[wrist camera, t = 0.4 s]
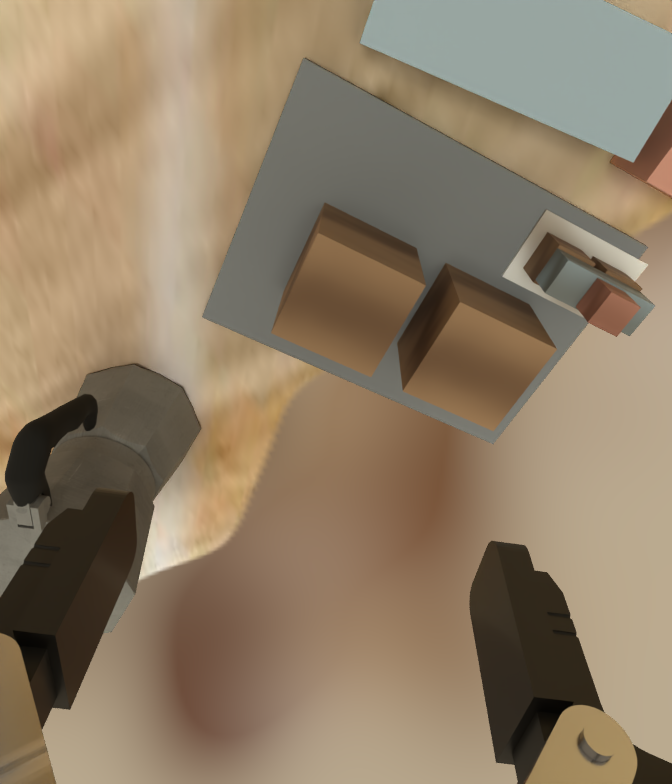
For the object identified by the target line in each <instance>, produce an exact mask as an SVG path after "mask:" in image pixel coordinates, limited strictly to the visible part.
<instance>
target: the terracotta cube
mask: <svg viewBox="0 0 672 784" xmlns="http://www.w3.org/2000/svg"><path fill="white" fill-rule="evenodd" d="M610 163H611V164H613V165H615V166H617V167H618V168H620V169H622V170H624V171H625V172H627V173H629V174H631V175H632V176H634V177H636V178H638V179H639V180H641V181H643V182H645V183H646V184H648V185H650V186H651V187H653V188H655V189H657V190H658V191H660V192H662V193H664V194H665V195H667V196H669V197H671V198H672V100H671V102H670V104H669V105H668V107H667V108H666V110H665V112H664V113H663V115H662V117H661V118H660V120H659V122H658V123H657V125H656V126H655V128H654V130H653V131H652V133H651V135H650V136H649V138H648V140H647V141H646V143H645V144H644V146H643V148H642V149H641V151H640V153H639V154H638V156H637V158H636V159H635V161H634V162H631V161H628V160H626V159H624V158H621V157H619V156H617V155H614V156H613V158H612V159H611V161H610Z"/></svg>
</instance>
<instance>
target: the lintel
mask: <svg viewBox="0 0 672 784" xmlns="http://www.w3.org/2000/svg"><path fill="white" fill-rule="evenodd" d="M360 44H363V45H365V46H367V47H370V48H372V49H374V50H376V51H379V52H381V53H383V54H386V55H388V56H390V57H392V58H395V59H397V60H399V61H402V62H404V63H406V64H408V65H411V66H413V67H415V68H418V69H420V70H422V71H425V72H427V73H429V74H431V75H434V76H436V77H438V78H441V79H443V80H445V81H447V82H450V83H452V84H454V85H457V86H459V87H461V88H463V89H466V90H468V91H470V92H473V93H475V94H477V95H479V96H482V97H484V98H486V99H489V100H491V101H493V102H496V103H498V104H500V105H502V106H505V107H507V108H509V109H512V110H514V111H516V112H518V113H521V114H523V115H525V116H528V117H530V118H532V119H534V120H537V121H539V122H541V123H544V124H546V125H548V126H550V127H553V128H555V129H557V130H560V131H562V132H564V133H567V134H569V135H571V136H573V137H576V138H578V139H580V140H583V141H585V142H587V143H589V144H592V145H594V146H596V147H599V148H601V149H603V150H605V151H608V152H610V153H612V154H615V155H617V156H619V157H621V158H624V159H626V160H628V161H631V162H634V161H635V159H636V158H637V156H638V154H639V153H640V151H641V149H642V148H643V146H644V144H645V143H646V141H647V140H648V138H649V136H650V135H651V133H652V131H653V130H654V128H655V126H656V125H657V123H658V122H659V120H660V118H661V117H662V115H663V113H664V112H665V110H666V108H667V107H668V105H669V104H670V102H671V100H672V33H670V32H668V31H666V30H664V29H662V28H660V27H658V26H655V25H653V24H651V23H649V22H647V21H645V20H643V19H641V18H639V17H637V16H635V15H633V14H631V13H628V12H626V11H624V10H622V9H620V8H618V7H616V6H614V5H612V4H610V3H608V2H606V1H604V0H374V2H373V5H372V8H371V11H370V14H369V17H368V19H367V22H366V25H365V28H364V31H363V34H362V37H361V40H360Z"/></svg>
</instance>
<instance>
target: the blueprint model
mask: <svg viewBox="0 0 672 784" xmlns="http://www.w3.org/2000/svg"><path fill="white" fill-rule="evenodd" d="M647 266H648V264H646V263H645V262H643V261H641V260H639V259H637V258H636V257H634V256H632V255H630V254H628V253H626V252H624V251H623V250H621V249H619V248H617V247H615V246H613V245H612V244H610V243H608V242H606V241H604V240H602V239H600V238H599V237H597V236H595V235H593V234H591V233H589V232H588V231H586V230H584V229H582V228H580V227H578V226H576V225H575V224H573V223H571V222H569V221H567V220H565V219H564V218H562V217H560V216H558V215H556V214H554V213H552V212H551V211H549V210H547V209H545V211H544V212H543V214H542V215H541V217H540V218H539V220H538V221H537V223H536V224H535V226H534V227H533V229H532V230H531V232H530V233H529V235H528V236H527V238H526V239H525V241H524V242H523V244H522V245H521V247H520V248H519V250H518V251H517V253H516V254H515V256H514V257H513V259H512V260H511V262H510V263H509V265H508V266H507V268H506V269H505V271H504V272H503V274H502V275H501V276H502V277H504V278H506V279H508V280H510V281H512V282H514V283H516V284H518V285H520V286H522V287H524V288H526V289H528V290H530V291H532V292H534V293H536V294H538V295H540V296H541V297H543V298H545V299H547V300H549V301H551V302H553V303H555V304H557V305H559V306H561V307H563V308H565V309H567V310H569V311H571V312H573V313H575V314H577V315H579V316H581V317H583V318H585V319H586V321H587V322H588V323H590V324H592V325H594V326H596V327H598V328H600V329H602V330H604V331H606V332H608V333H610V334H612V335H614V336H616V337H617V336H618V334H619V333H620V332H623V333H624V334H626V335H628V336H630V335H631V334H632V333H633V332H634V331H635V329H636V328H637V327H638V326H639V325H640V323H641V322H642V321H643V320H644V319H645V317H646V316H647V315H648V314H649V313H650V311H651V310H652V309H653V308H654V307H655V305H654V304H653V303H652V302H651V301H649V300H648V299H647V298H646V297H645V296H644V295H643V294H642V293H641V292H640V291H641V290H642V288H641V287H640V286H639V285H638V284H637V283H636V282H635V281H636V279H637V278H638V277H639V276H640V274H641V273H642V272H643V271H644V269H645V268H646V267H647Z"/></svg>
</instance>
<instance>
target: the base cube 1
mask: <svg viewBox="0 0 672 784" xmlns="http://www.w3.org/2000/svg"><path fill="white" fill-rule="evenodd" d="M425 286H426V283H425V279H424V275H423V271H422V267H421V264H420V260H419V256H418V252H417V248H415V247H413V246H411V245H409V244H407V243H405V242H403V241H401V240H399V239H397V238H395V237H393V236H391V235H389V234H387V233H385V232H383V231H381V230H379V229H377V228H375V227H373V226H371V225H369V224H367V223H365V222H363V221H361V220H359V219H357V218H355V217H353V216H351V215H349V214H347V213H345V212H343V211H341V210H339V209H337V208H335V207H333V206H331V205H329V204H327V203H324V205H323V207H322V209H321V211H320V214H319V216H318V218H317V220H316V222H315V224H314V227H313V229H312V231H311V233H310V235H309V237H308V240H307V242H306V244H305V246H304V248H303V250H302V253H301V255H300V257H299V259H298V261H297V263H296V266H295V268H294V270H293V272H292V274H291V276H290V279H289V281H288V283H287V285H286V287H285V289H284V292H283V295H282V298H281V302H280V305H279V308H278V312H277V315H276V318H275V322H274V325H273V328H272V332H271V333H272V334H274V335H276V336H278V337H281V338H283V339H285V340H288V341H290V342H292V343H294V344H297V345H299V346H301V347H303V348H306V349H308V350H310V351H312V352H315V353H317V354H319V355H322V356H324V357H326V358H328V359H331V360H333V361H335V362H337V363H340V364H342V365H344V366H346V367H349V368H351V369H353V370H356V371H358V372H360V373H362V374H365V375H367V376H369V377H372V375H373V373H374V371H375V370H376V368H377V366H378V365H379V363H380V361H381V360H382V358H383V356H384V355H385V353H386V351H387V350H388V348H389V346H390V345H391V343H392V341H393V340H394V338H395V336H396V335H397V333H398V331H399V330H400V328H401V326H402V325H403V323H404V321H405V320H406V318H407V316H408V315H409V313H410V311H411V310H412V308H413V306H414V305H415V303H416V301H417V300H418V298H419V296H420V295H421V293H422V291H423V290H424V288H425Z"/></svg>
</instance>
